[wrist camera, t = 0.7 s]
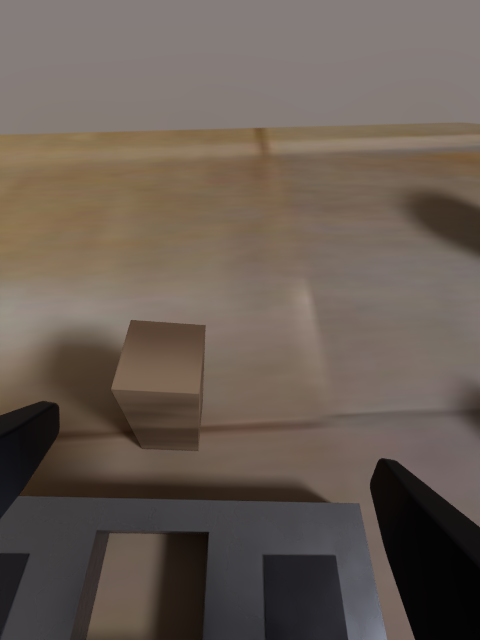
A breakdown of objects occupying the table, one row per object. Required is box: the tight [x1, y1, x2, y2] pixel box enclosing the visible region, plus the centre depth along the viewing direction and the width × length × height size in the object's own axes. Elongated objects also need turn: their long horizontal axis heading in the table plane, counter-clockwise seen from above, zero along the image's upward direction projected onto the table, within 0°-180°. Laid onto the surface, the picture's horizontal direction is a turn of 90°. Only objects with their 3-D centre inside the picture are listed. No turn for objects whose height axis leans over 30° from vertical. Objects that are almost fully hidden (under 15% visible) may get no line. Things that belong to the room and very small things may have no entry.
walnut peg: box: [111, 320, 206, 451], centre depth 19 cm, size 4×4×10 cm
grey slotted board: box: [0, 496, 387, 640], centre depth 16 cm, size 24×9×3 cm, turn 90°
